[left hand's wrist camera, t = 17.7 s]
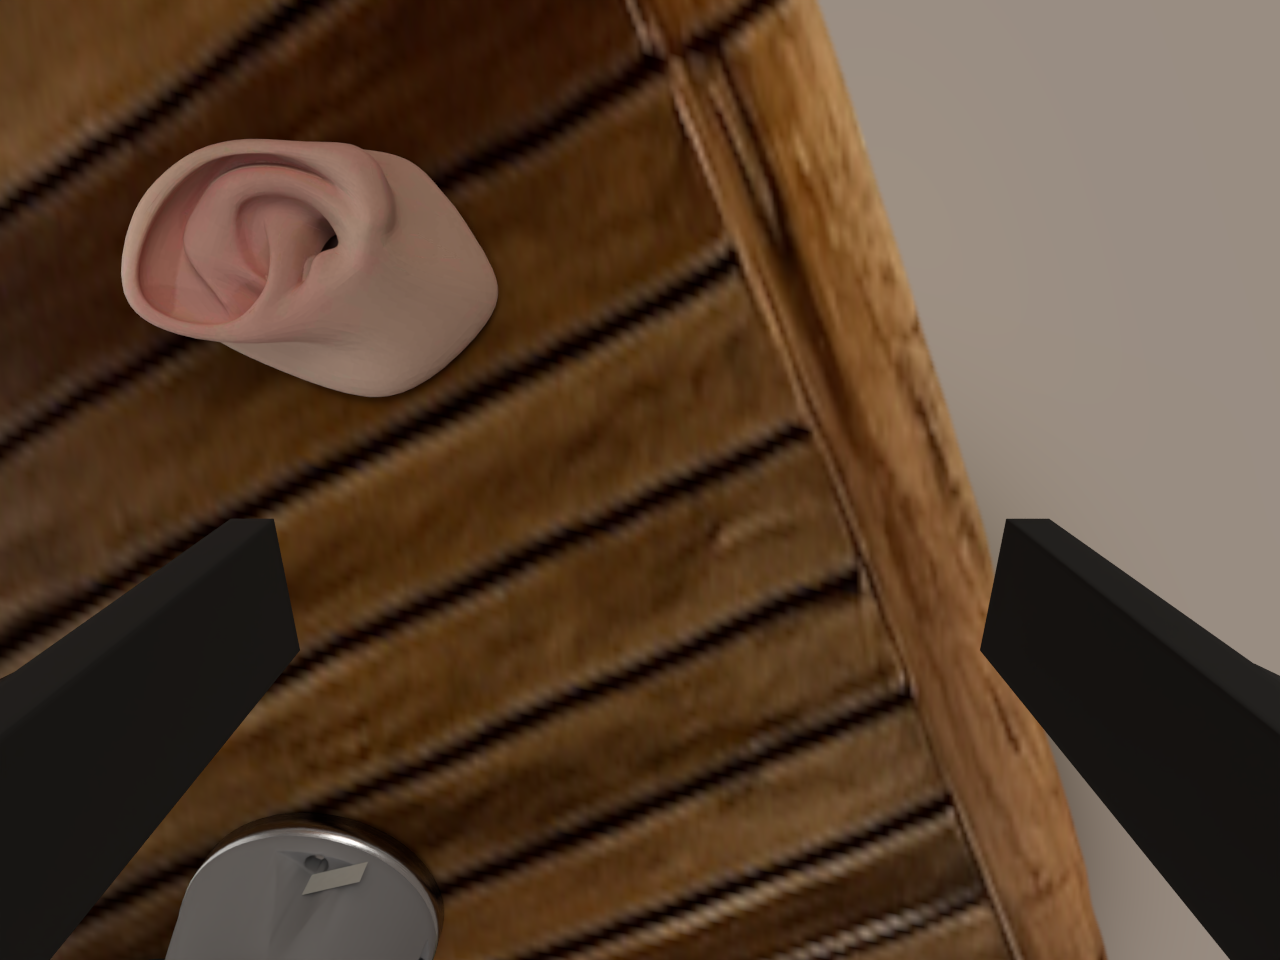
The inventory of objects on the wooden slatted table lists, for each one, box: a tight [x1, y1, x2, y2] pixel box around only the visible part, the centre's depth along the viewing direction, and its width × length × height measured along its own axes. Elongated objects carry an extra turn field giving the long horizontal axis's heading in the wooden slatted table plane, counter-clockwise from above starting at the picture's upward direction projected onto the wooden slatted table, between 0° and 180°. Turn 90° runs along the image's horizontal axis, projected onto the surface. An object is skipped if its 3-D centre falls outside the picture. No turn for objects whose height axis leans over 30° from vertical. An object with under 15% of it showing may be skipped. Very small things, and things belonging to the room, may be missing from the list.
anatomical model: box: [121, 139, 498, 397], centre depth 29 cm, size 13×4×12 cm
